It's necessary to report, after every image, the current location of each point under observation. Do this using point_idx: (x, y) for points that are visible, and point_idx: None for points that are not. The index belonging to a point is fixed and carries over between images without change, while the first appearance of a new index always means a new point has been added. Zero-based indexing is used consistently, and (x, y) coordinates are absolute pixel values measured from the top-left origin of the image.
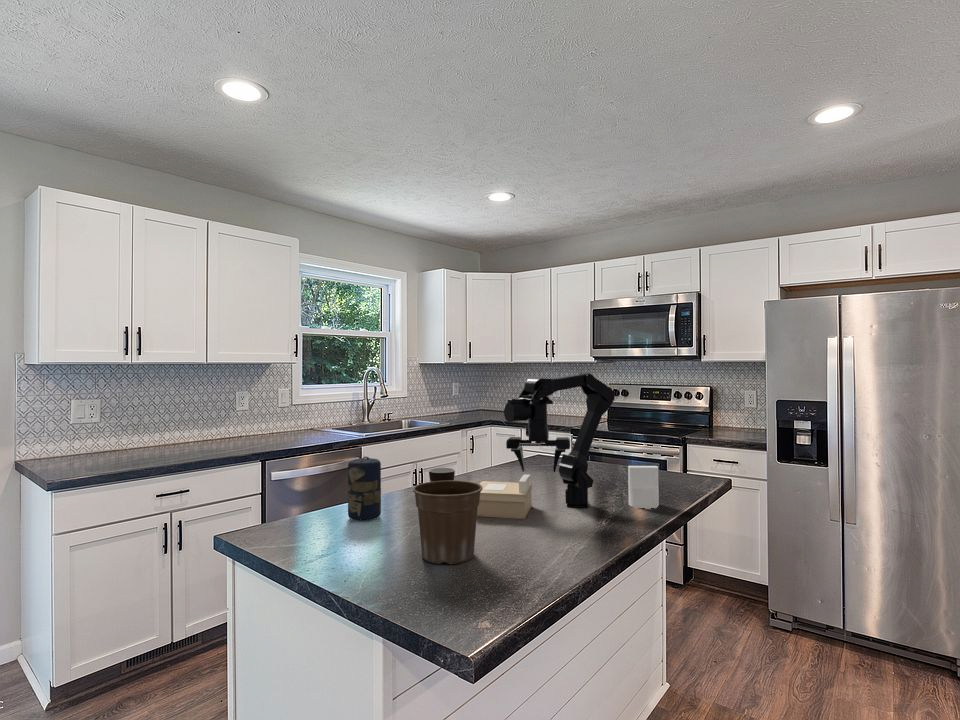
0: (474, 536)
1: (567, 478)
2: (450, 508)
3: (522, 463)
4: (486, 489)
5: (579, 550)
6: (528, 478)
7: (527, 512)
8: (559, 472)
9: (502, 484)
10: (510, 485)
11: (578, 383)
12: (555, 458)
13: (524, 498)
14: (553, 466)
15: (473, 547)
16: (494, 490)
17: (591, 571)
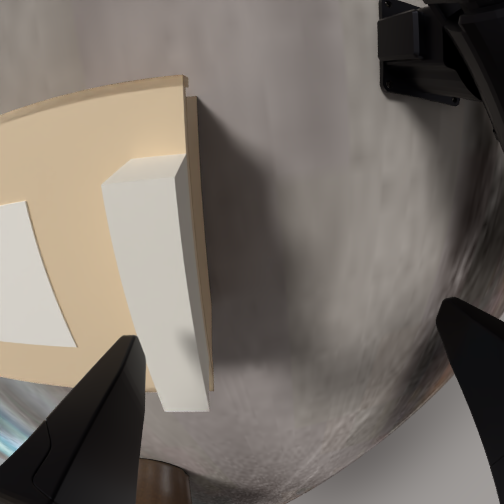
0: (191, 501)
1: (486, 105)
2: None
3: (134, 456)
4: (8, 338)
5: (357, 427)
6: (191, 300)
7: (205, 245)
8: (464, 35)
9: (1, 213)
10: (49, 214)
11: None
12: (492, 446)
13: (211, 365)
14: (455, 375)
15: (189, 487)
16: (42, 346)
17: (355, 458)
